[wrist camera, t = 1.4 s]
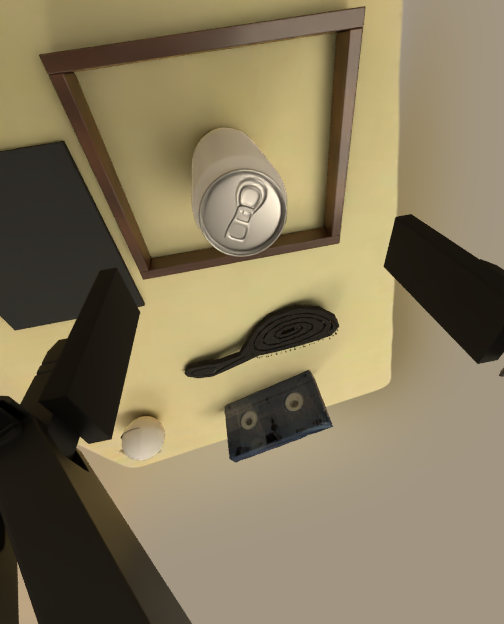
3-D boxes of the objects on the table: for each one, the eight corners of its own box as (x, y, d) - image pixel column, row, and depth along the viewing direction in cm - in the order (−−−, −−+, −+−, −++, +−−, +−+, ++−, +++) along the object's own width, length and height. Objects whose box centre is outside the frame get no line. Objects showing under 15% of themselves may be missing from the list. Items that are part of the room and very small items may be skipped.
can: (270, 142, 26) (312, 183, 17) (246, 209, 29) (269, 271, 20) (201, 113, 23) (207, 141, 14) (184, 189, 27) (181, 249, 18)
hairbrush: (169, 373, 40) (333, 307, 35) (171, 353, 43) (324, 289, 38) (199, 397, 46) (346, 344, 41) (200, 378, 49) (337, 325, 43)
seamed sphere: (150, 403, 50) (145, 444, 44) (174, 420, 55) (172, 458, 49) (104, 421, 51) (93, 464, 46) (130, 436, 56) (124, 475, 51)
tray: (52, 55, 20) (38, 54, 18) (350, 11, 21) (366, 6, 19) (146, 267, 32) (143, 279, 30) (331, 233, 33) (339, 243, 31)
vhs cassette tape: (229, 411, 56) (235, 463, 48) (222, 405, 54) (227, 458, 47) (314, 377, 53) (334, 427, 45) (310, 369, 51) (330, 420, 43)
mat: (-136, 173, 22) (-142, 174, 22) (64, 140, 23) (62, 142, 23) (16, 327, 34) (14, 330, 34) (145, 303, 35) (144, 306, 35)
